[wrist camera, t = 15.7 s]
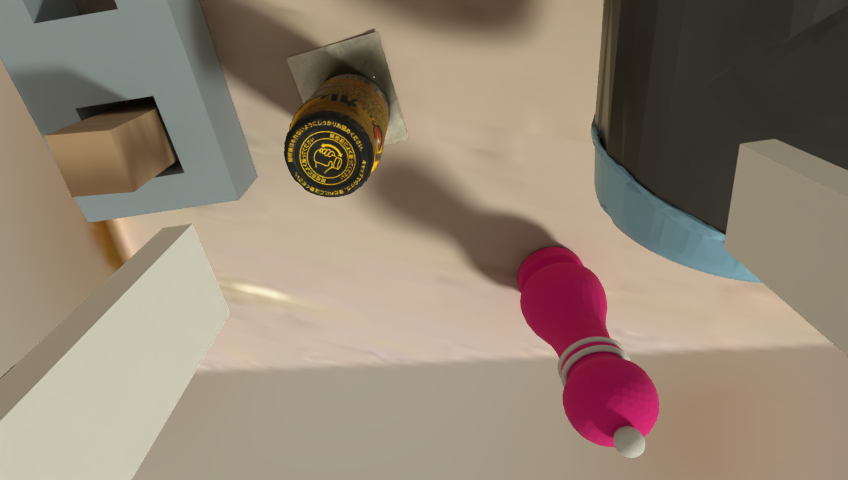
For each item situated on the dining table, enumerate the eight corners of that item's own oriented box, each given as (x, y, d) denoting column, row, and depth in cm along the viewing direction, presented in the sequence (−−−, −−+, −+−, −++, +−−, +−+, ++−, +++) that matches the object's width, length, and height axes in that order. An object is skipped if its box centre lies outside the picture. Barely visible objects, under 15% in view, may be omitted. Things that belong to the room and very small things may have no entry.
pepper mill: (503, 300, 47) (558, 487, 30) (523, 236, 44) (597, 403, 26) (573, 309, 48) (667, 497, 30) (597, 247, 45) (719, 417, 27)
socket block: (-35, -110, 31) (-109, -126, 27) (150, -146, 31) (106, -168, 26) (116, 198, 41) (80, 223, 37) (257, 176, 41) (238, 200, 36)
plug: (130, 100, 38) (44, 135, 29) (181, 96, 38) (109, 130, 29) (148, 150, 40) (72, 197, 31) (196, 146, 39) (133, 192, 31)
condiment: (325, 160, 40) (294, 222, 30) (286, 57, 36) (234, 86, 26) (408, 138, 40) (407, 194, 29) (378, 30, 36) (363, 49, 25)
